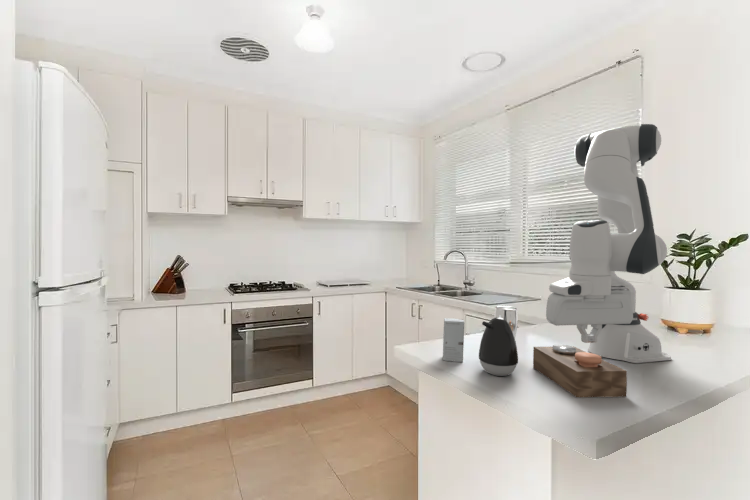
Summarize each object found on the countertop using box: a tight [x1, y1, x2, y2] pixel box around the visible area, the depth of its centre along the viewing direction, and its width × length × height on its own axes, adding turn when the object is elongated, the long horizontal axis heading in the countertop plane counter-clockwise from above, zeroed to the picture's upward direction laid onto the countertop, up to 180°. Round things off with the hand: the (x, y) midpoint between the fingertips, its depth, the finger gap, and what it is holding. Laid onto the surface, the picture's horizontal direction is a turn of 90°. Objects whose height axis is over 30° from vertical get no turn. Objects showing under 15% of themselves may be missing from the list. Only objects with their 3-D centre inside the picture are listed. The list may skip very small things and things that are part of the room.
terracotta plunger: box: [575, 351, 603, 367], centre depth 88 cm, size 6×6×5 cm
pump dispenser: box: [478, 317, 519, 377], centre depth 98 cm, size 10×10×15 cm
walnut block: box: [532, 345, 628, 398], centre depth 93 cm, size 12×20×6 cm, turn 3°
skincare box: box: [442, 317, 465, 363], centre depth 109 cm, size 6×4×12 cm
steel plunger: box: [552, 344, 577, 355], centre depth 98 cm, size 6×6×5 cm
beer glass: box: [493, 305, 519, 339], centre depth 114 cm, size 7×7×15 cm
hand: (589, 342), depth 88 cm, fingers closed
